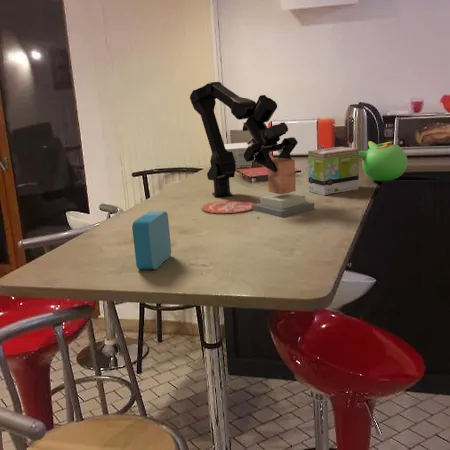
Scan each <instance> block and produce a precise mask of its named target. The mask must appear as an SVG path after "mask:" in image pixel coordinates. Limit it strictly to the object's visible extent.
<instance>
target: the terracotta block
mask: <svg viewBox="0 0 450 450" xmlns="http://www.w3.org/2000/svg"><path fill="white" fill-rule="evenodd" d="M272 161H273V163H274V164H275V166H276V168H277V172H274V171H272V170H270V169H269V168H267V180H268V184H267V185H268V192H269V193H272V194H275V193H277V194H285V193H294V192H296V161H295V159H292V158H291V159H286V158H278V157H277V158H273V159H272Z"/></svg>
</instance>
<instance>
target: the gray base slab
mask: <svg viewBox="0 0 450 450" xmlns="http://www.w3.org/2000/svg"><path fill="white" fill-rule="evenodd" d="M252 209H253V210H252ZM313 209H315V202H311V201H307V200H305V203H303V204H300V205H296V206H292V207H288V208H285V209H279V208H274V207H269V206H264V205H261V204H260V202H259V203H255V204H254V203H253V204H252V205H251V210H252V211H254V212H259V213H262V214H266V215H270V216H274V217H278V218H283V217H287V216H292V215H294V214H298V213H302V212H303V213H304V212H306V211H309V210H313Z"/></svg>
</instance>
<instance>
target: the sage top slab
mask: <svg viewBox="0 0 450 450" xmlns="http://www.w3.org/2000/svg"><path fill="white" fill-rule="evenodd" d="M259 199H260V200H259V201H260V202H259V203H260V204H261V205H264V206H269V207H274V208H279V209H285V208H288V207H292V206H296V205H300V204H303V203H305V201H306V194H305V195H304V194H299V193H294V192H289V193H285V194H277V193H272V194H269V195H264V196H260V197H259Z"/></svg>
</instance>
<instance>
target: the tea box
mask: <svg viewBox="0 0 450 450" xmlns="http://www.w3.org/2000/svg"><path fill="white" fill-rule="evenodd" d="M359 151H360V149H359V148H355V147H347V146H336V147H335V146H334V147H329V148H327V147H326V148H320V149H313V150H308V151H307V156H308V159H307V163H308V164H307V165H308V168H307V169H308V172H307V173H308V174H307V175H308V177H307V179H308V180H307V181H308V192H311V193H313V194H318V195H322V196H327V195H332V194H338V193H343V192H345V193H346V192H351V191H357V190H359V183H360V181H359V175H360V173H359V172H360V171H359V165H360V164H359V163H360V162H359V161H360V160H359V159H360V158H359Z"/></svg>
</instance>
